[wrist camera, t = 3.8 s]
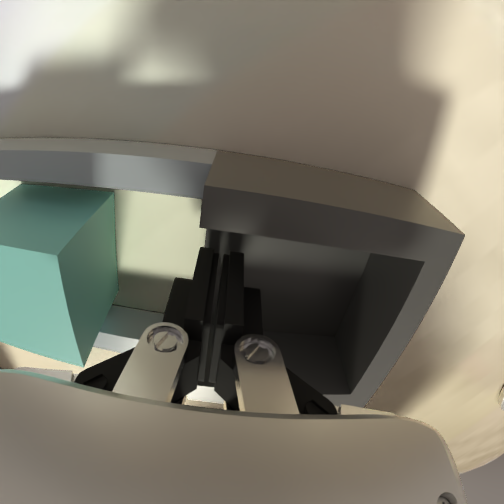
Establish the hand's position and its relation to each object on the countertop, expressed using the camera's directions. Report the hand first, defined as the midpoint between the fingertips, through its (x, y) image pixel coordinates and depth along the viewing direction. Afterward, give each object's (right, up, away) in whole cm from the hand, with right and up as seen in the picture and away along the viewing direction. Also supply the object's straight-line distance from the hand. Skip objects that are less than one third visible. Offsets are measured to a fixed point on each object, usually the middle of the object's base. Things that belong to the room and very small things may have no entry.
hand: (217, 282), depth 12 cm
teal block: (-7, +2, +1) cm, 7 cm away
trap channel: (-2, +1, +1) cm, 3 cm away
